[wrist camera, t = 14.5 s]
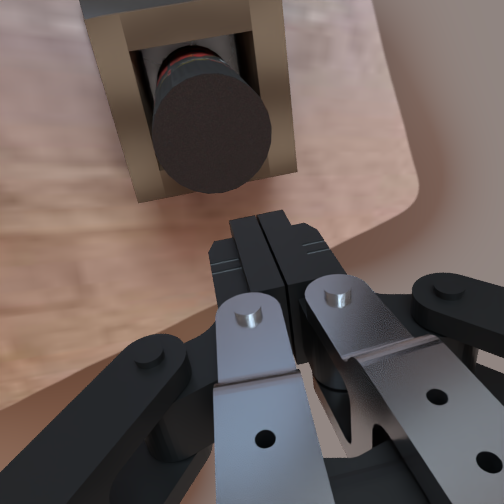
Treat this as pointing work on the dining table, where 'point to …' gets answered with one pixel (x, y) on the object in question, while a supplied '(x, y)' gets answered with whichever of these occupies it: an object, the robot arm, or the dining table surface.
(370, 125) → the dining table surface
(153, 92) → the press platform
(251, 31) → the sleeve holder
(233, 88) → the deodorant
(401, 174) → the dining table surface
